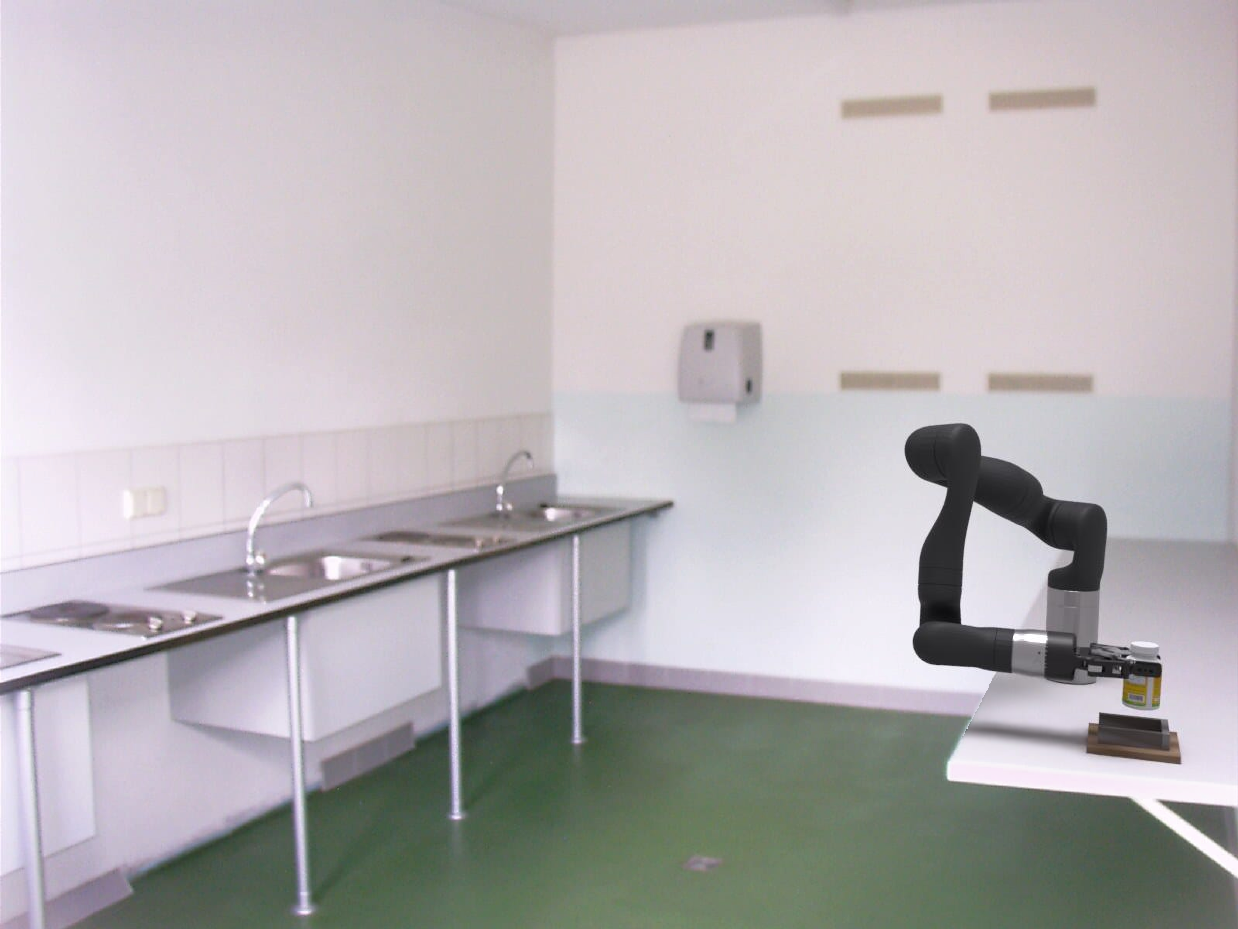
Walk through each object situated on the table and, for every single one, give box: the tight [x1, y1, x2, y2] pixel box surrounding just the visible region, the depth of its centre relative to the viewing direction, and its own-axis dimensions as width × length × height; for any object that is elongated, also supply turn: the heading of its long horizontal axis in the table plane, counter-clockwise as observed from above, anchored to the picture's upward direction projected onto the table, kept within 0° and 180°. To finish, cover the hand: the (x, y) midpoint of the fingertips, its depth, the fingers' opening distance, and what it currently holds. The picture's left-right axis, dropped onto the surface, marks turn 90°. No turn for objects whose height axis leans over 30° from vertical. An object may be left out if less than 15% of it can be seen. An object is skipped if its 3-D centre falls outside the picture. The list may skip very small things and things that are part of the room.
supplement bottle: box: [1121, 640, 1163, 711], centre depth 193 cm, size 5×5×10 cm
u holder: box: [1086, 711, 1182, 765], centre depth 194 cm, size 14×13×4 cm
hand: (1160, 666), depth 192 cm, fingers closed on supplement bottle, 5 cm apart
